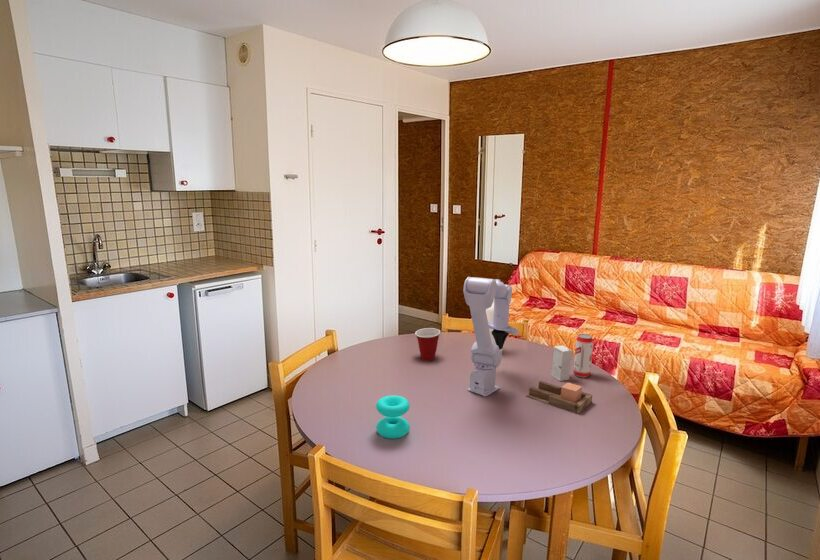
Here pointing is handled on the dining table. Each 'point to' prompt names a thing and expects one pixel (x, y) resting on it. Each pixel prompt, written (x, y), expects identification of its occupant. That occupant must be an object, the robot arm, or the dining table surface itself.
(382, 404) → the donuts
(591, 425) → the dining table surface
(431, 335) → the plastic cup
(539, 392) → the chute
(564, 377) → the skincare box
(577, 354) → the beer can
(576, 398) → the block
